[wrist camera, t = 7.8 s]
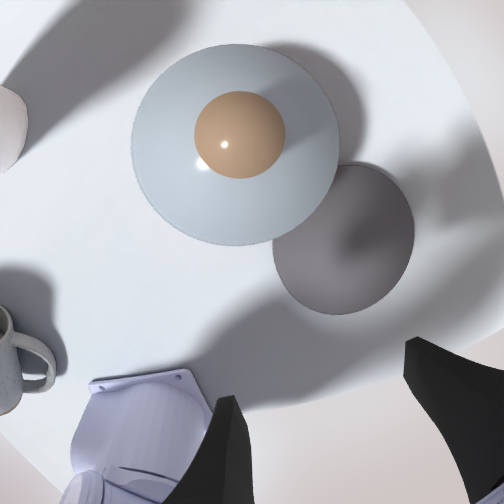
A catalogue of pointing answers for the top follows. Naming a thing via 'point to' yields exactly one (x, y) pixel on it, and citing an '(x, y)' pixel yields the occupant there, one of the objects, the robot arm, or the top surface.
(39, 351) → the ceramic mug
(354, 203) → the mat
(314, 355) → the top surface
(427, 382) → the robot arm
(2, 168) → the foam cup
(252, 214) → the lid
